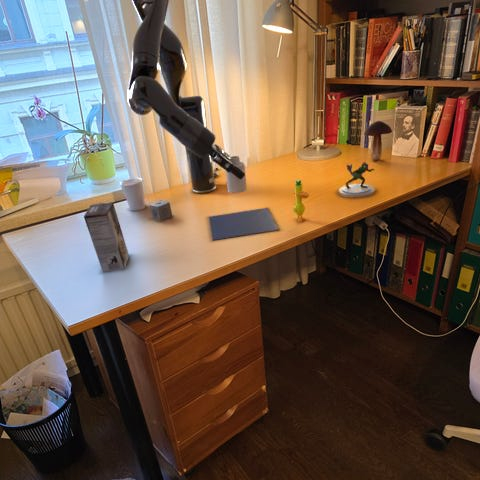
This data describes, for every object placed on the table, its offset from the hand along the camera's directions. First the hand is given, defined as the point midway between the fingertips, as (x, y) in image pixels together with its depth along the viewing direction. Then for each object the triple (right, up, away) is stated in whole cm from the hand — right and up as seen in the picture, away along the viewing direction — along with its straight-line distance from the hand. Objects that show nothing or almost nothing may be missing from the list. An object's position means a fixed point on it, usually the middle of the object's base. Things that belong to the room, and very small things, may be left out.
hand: (241, 173), depth 122 cm
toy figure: (+19, -13, +5) cm, 23 cm away
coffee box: (-35, -28, -6) cm, 45 cm away
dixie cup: (-39, -1, +34) cm, 52 cm away
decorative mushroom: (+57, +24, +51) cm, 79 cm away
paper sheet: (0, -13, +8) cm, 15 cm away
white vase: (-1, -4, +2) cm, 5 cm away
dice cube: (-28, -8, +22) cm, 36 cm away
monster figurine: (+40, +1, +21) cm, 45 cm away
